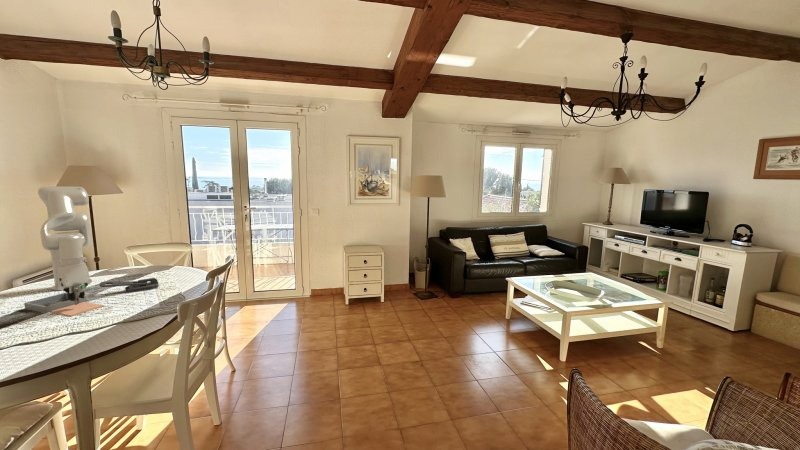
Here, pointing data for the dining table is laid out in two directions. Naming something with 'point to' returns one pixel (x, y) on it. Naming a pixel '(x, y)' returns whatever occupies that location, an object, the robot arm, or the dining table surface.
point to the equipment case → (38, 307)
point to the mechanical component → (78, 292)
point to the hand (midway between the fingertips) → (76, 298)
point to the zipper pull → (134, 285)
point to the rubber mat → (77, 309)
